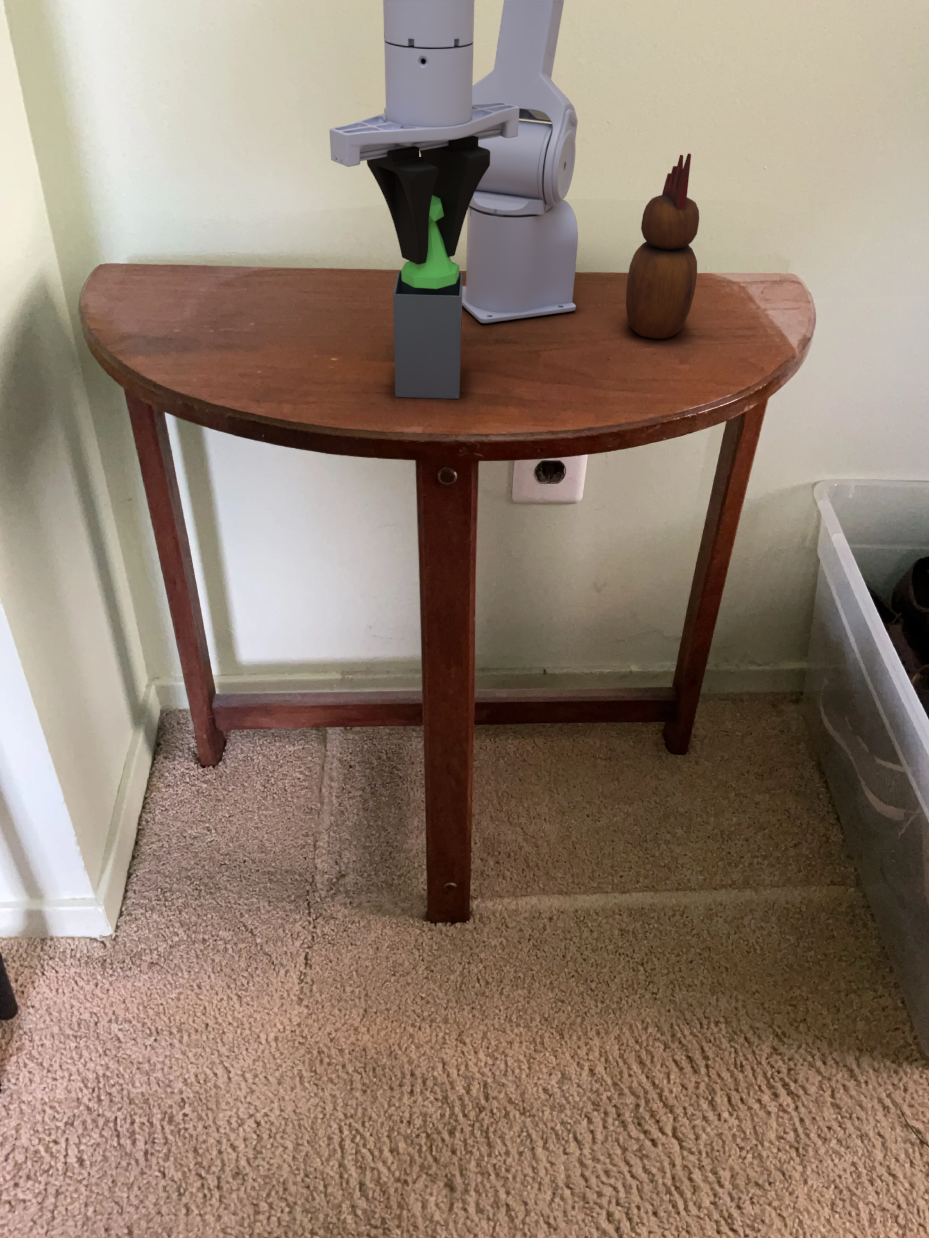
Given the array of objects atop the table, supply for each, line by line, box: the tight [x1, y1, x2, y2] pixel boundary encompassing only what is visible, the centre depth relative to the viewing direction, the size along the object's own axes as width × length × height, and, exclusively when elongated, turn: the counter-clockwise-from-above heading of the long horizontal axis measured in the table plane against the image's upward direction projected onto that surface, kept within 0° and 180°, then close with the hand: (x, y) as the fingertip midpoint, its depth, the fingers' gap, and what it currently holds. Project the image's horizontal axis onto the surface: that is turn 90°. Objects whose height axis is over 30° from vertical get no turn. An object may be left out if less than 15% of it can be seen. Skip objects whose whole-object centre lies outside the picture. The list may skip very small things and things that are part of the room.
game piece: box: [400, 195, 460, 289], centre depth 71 cm, size 4×4×6 cm
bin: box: [392, 270, 464, 400], centre depth 75 cm, size 5×5×8 cm
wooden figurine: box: [625, 153, 700, 340], centre depth 82 cm, size 7×6×15 cm
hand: (428, 256), depth 72 cm, fingers closed on game piece, 2 cm apart
